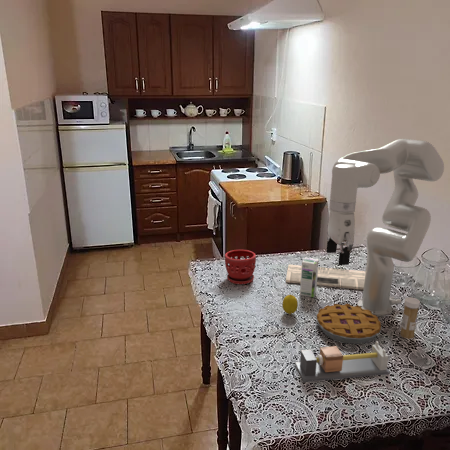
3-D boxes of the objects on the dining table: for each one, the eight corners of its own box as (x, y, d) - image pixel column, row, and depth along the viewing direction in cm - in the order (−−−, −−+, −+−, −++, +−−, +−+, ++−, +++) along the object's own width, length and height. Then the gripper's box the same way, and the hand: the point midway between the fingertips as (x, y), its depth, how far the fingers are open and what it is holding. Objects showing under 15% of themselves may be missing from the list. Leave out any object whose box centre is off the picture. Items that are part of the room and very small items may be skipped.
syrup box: (299, 295, 171) (301, 261, 167) (302, 289, 176) (304, 256, 172) (313, 297, 169) (316, 264, 164) (316, 291, 174) (319, 258, 170)
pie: (308, 313, 158) (309, 301, 156) (366, 312, 159) (367, 300, 158) (325, 348, 137) (326, 335, 135) (391, 346, 138) (393, 333, 137)
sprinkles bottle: (414, 340, 141) (420, 304, 137) (400, 338, 143) (405, 302, 138) (413, 333, 145) (419, 297, 141) (399, 331, 147) (404, 295, 142)
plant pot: (260, 278, 186) (261, 252, 182) (245, 289, 176) (246, 262, 172) (234, 271, 193) (235, 246, 189) (218, 281, 182) (218, 255, 178)
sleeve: (334, 360, 128) (336, 345, 127) (341, 370, 124) (343, 356, 122) (319, 361, 128) (320, 347, 126) (325, 372, 123) (326, 357, 121)
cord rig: (376, 357, 132) (379, 338, 130) (389, 374, 125) (392, 353, 123) (295, 364, 129) (296, 344, 126) (303, 382, 121) (305, 361, 119)
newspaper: (285, 284, 182) (286, 278, 181) (288, 266, 200) (289, 260, 199) (376, 293, 174) (377, 287, 174) (371, 273, 192) (372, 268, 192)
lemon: (296, 319, 154) (298, 299, 151) (281, 317, 155) (282, 297, 152) (297, 311, 159) (298, 292, 156) (282, 309, 160) (283, 290, 157)
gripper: (367, 213, 121) (360, 269, 127) (342, 198, 138) (337, 247, 143) (342, 214, 120) (336, 270, 126) (320, 198, 136) (316, 249, 142)
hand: (337, 258), depth 134 cm, fingers open, 9 cm apart
